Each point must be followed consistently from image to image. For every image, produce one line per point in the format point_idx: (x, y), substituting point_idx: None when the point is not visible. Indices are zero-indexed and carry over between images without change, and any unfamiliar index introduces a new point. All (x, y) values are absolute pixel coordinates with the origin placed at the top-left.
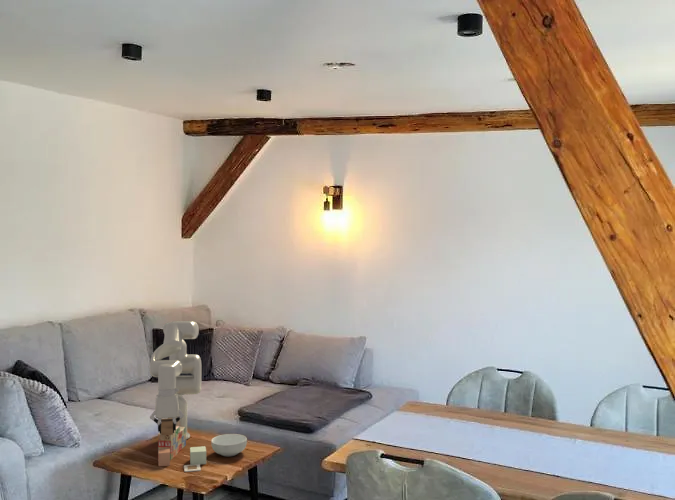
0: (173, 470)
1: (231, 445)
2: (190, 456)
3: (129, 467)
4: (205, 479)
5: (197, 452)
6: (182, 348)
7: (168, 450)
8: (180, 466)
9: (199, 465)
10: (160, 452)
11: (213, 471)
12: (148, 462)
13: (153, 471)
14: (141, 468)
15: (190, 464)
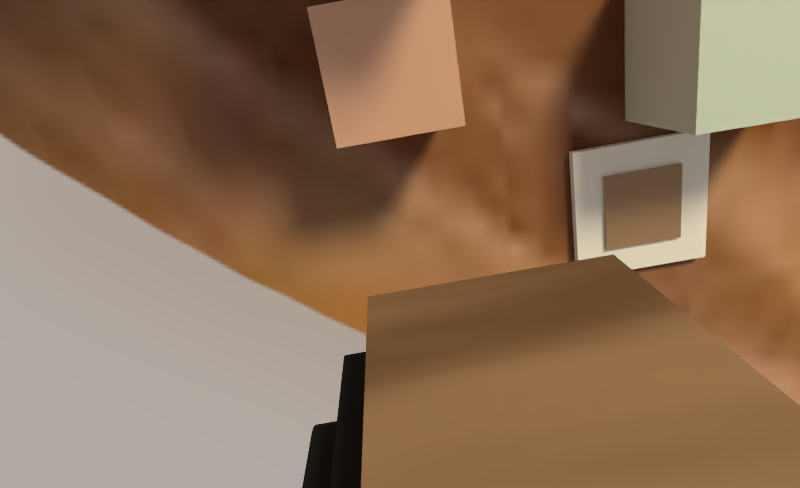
0: (487, 235)
1: None
2: (667, 121)
3: (89, 144)
4: None
5: (767, 121)
6: None
7: (439, 55)
8: (539, 147)
9: (704, 163)
10: (354, 123)
11: (791, 271)
12: (224, 14)
13: (329, 249)
14: (208, 175)
15: (628, 121)
